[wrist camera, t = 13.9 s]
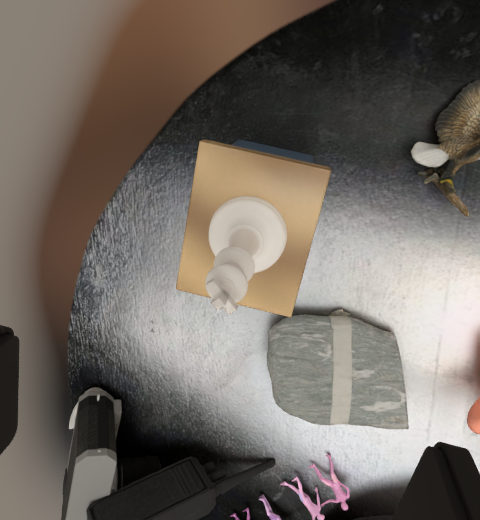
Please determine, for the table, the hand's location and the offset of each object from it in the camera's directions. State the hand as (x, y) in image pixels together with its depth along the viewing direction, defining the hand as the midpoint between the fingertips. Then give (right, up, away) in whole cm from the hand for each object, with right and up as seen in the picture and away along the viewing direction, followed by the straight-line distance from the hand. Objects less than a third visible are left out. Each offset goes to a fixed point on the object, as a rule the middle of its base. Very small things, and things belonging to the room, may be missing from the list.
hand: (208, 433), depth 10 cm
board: (+1, +6, +19) cm, 20 cm away
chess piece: (+1, +6, +18) cm, 19 cm away
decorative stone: (+13, -8, +37) cm, 40 cm away
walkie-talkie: (-14, -22, +32) cm, 42 cm away
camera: (-12, -22, +36) cm, 44 cm away
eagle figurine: (+19, +14, +27) cm, 36 cm away
